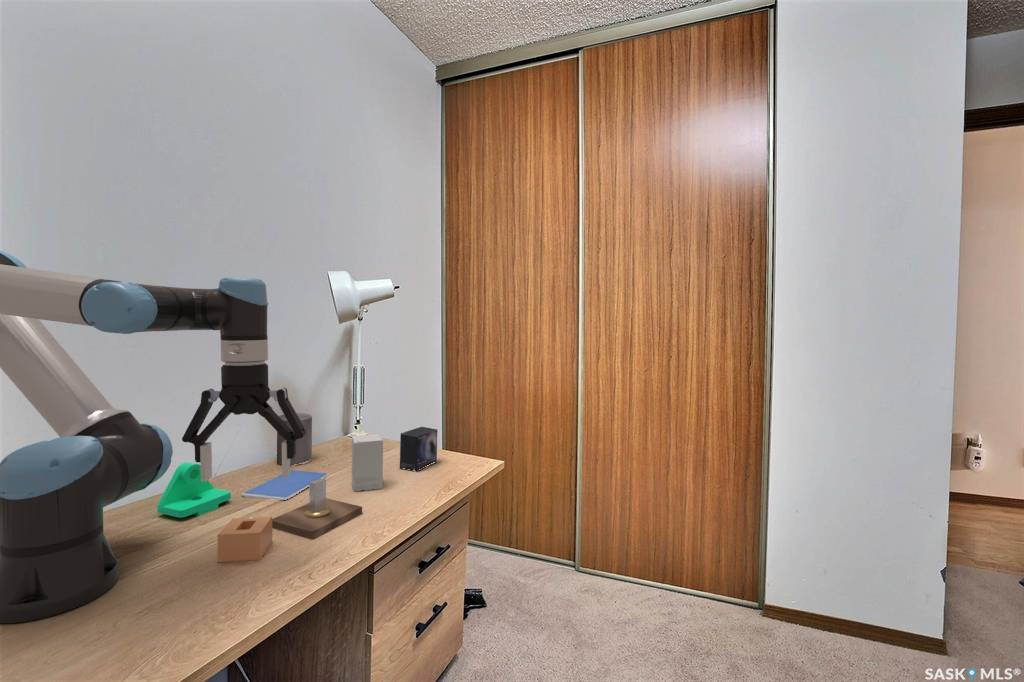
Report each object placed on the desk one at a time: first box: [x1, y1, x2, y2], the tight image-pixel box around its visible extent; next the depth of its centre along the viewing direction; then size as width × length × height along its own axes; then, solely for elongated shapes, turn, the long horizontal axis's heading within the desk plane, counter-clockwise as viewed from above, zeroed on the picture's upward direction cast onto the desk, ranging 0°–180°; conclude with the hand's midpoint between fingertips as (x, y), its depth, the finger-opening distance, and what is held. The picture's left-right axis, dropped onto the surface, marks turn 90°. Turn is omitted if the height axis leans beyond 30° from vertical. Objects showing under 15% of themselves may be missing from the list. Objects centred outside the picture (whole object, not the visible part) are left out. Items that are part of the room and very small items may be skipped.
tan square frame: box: [216, 515, 273, 563], centre depth 89 cm, size 7×7×5 cm
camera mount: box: [156, 461, 232, 518], centre depth 107 cm, size 12×8×10 cm, turn 160°
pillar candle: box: [276, 412, 313, 466], centre depth 143 cm, size 10×10×15 cm
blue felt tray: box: [241, 469, 329, 501], centre depth 123 cm, size 19×13×1 cm, turn 170°
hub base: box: [272, 478, 363, 540], centre depth 103 cm, size 14×12×8 cm
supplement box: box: [351, 433, 384, 492], centre depth 124 cm, size 7×7×13 cm
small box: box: [399, 426, 438, 472], centre depth 141 cm, size 11×6×10 cm, turn 154°
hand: (247, 477), depth 88 cm, fingers open, 13 cm apart
